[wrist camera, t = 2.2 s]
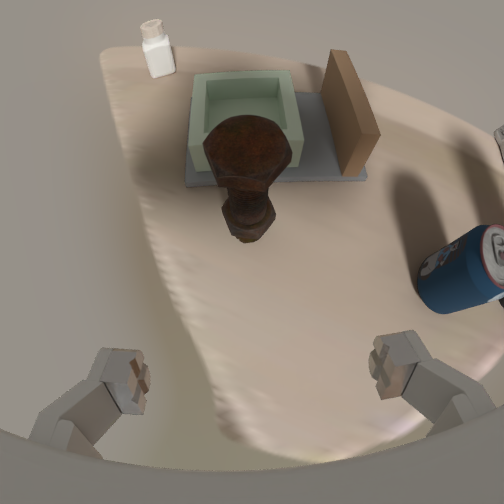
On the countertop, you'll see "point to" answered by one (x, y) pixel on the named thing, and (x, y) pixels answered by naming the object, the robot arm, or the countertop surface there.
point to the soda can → (465, 271)
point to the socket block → (243, 107)
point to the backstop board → (324, 130)
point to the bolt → (247, 170)
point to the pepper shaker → (157, 49)
